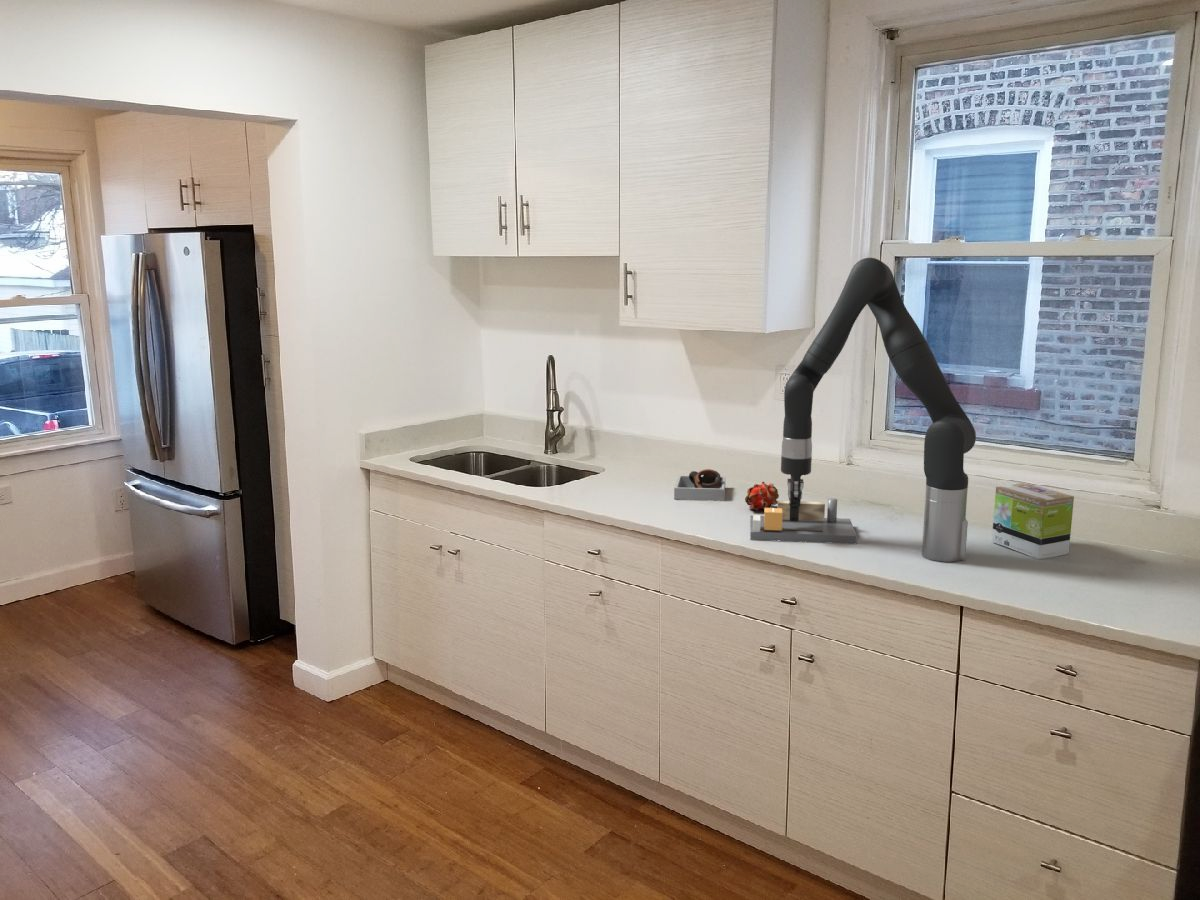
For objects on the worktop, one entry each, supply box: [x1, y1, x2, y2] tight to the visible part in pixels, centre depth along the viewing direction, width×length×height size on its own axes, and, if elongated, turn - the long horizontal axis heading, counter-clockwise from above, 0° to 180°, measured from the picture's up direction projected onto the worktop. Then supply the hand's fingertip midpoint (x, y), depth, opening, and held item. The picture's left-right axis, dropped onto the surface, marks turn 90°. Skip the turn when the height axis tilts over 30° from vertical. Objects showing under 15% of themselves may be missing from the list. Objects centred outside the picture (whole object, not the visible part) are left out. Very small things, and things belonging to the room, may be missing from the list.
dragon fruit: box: [744, 481, 780, 511], centre depth 267 cm, size 8×8×12 cm
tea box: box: [991, 482, 1075, 560], centre depth 228 cm, size 15×10×15 cm
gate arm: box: [777, 500, 826, 521], centre depth 248 cm, size 12×2×4 cm, turn 81°
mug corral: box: [673, 475, 727, 502], centre depth 287 cm, size 15×17×4 cm
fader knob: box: [763, 507, 783, 530], centre depth 240 cm, size 4×4×5 cm
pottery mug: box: [688, 468, 723, 489], centre depth 288 cm, size 12×9×8 cm
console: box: [749, 497, 858, 544], centre depth 244 cm, size 26×16×8 cm, turn 81°
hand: (793, 520), depth 242 cm, fingers closed
